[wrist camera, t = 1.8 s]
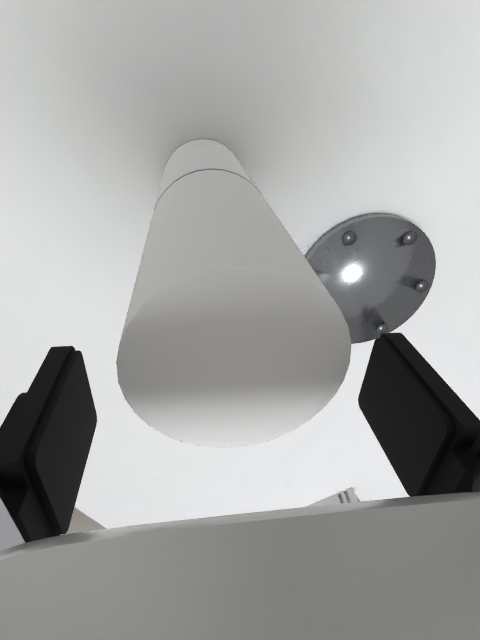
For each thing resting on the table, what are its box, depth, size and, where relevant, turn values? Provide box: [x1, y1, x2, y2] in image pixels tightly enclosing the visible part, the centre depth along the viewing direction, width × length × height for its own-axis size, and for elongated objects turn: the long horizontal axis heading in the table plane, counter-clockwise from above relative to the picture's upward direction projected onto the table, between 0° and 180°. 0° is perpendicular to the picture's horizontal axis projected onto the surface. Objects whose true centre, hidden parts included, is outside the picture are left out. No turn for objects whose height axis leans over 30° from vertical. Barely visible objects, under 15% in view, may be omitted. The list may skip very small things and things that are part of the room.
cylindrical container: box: [116, 139, 351, 448], centre depth 21 cm, size 7×7×25 cm
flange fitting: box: [305, 213, 436, 344], centre depth 37 cm, size 23×15×6 cm, turn 88°
